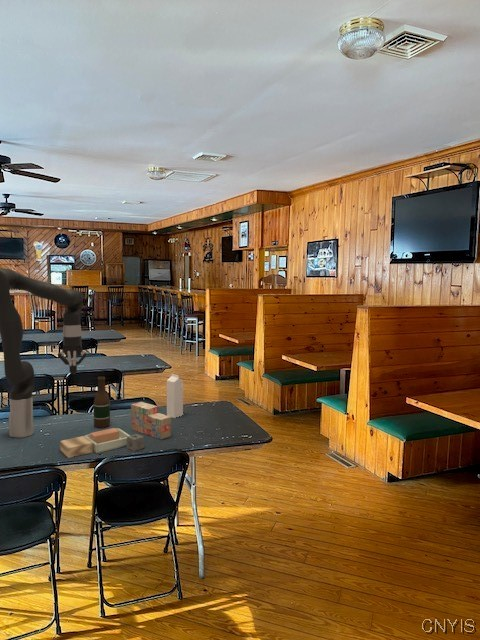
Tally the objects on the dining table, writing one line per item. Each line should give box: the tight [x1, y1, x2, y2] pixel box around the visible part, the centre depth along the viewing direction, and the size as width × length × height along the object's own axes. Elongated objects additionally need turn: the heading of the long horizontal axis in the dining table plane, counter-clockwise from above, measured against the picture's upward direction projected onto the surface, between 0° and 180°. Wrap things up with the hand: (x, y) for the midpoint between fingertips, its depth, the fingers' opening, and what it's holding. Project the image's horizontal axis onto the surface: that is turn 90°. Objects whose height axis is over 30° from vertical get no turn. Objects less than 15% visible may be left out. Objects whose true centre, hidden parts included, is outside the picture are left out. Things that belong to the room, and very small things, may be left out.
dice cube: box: [126, 433, 145, 452], centre depth 196 cm, size 5×5×5 cm
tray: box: [83, 427, 131, 454], centre depth 199 cm, size 16×14×4 cm
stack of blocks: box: [130, 401, 172, 440], centre depth 214 cm, size 21×6×12 cm, turn 50°
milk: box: [166, 373, 184, 419], centre depth 238 cm, size 6×6×22 cm
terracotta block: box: [89, 427, 119, 444], centre depth 198 cm, size 5×5×11 cm
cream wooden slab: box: [59, 435, 94, 459], centre depth 191 cm, size 10×10×4 cm
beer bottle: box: [93, 376, 111, 429], centre depth 221 cm, size 8×8×24 cm
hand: (73, 373), depth 204 cm, fingers closed
